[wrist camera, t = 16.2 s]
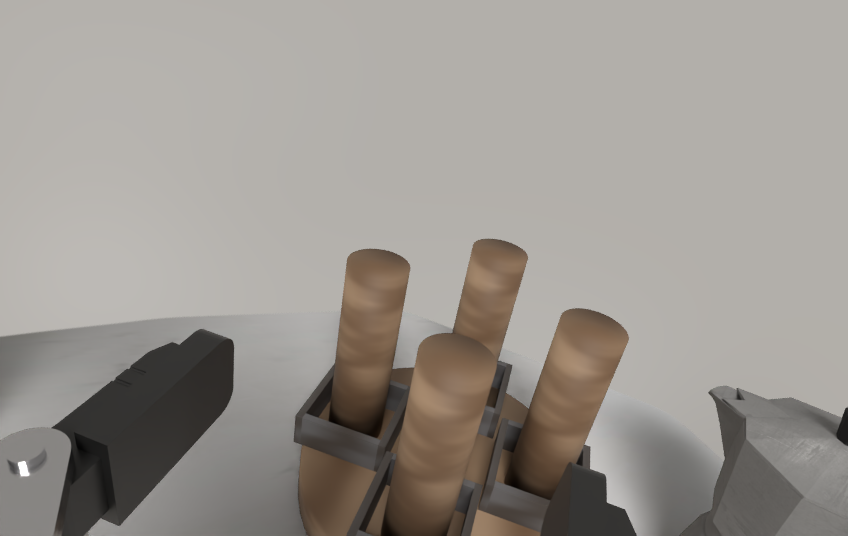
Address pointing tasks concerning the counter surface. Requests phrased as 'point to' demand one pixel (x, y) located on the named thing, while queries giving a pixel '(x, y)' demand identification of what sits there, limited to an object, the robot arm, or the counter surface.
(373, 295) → the stool seat
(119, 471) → the robot arm
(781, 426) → the coffeepot
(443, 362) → the loose leg
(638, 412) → the counter surface
